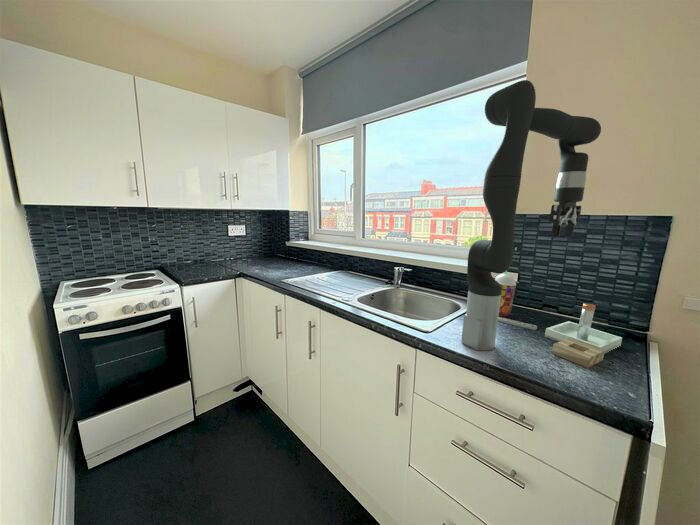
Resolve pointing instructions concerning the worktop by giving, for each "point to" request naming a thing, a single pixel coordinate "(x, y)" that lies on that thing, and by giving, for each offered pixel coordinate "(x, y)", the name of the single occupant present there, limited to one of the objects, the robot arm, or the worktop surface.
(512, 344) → the worktop surface
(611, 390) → the worktop surface
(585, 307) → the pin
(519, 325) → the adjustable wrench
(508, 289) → the smoothie
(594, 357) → the block
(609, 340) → the tray
